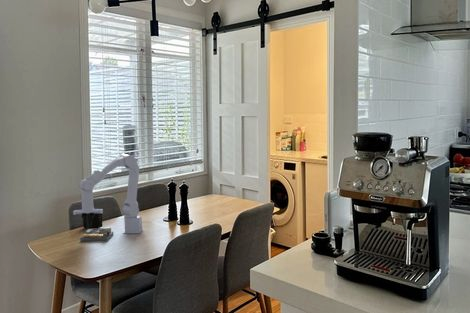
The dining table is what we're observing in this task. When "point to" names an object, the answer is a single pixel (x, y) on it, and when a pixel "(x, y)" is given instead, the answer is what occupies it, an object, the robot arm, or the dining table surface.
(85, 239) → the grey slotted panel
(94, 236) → the strap
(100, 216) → the electronic device
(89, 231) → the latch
